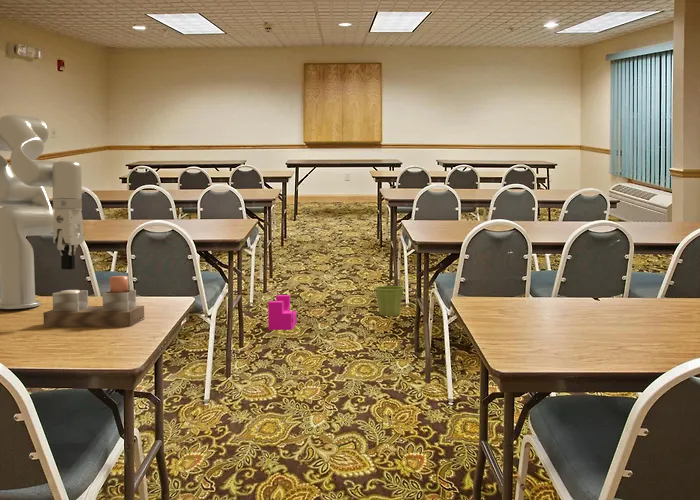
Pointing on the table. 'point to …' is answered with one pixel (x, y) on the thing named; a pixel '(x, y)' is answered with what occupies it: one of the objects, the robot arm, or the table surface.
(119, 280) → the plunger salmon pink
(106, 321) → the button box
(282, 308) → the toy block
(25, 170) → the robot arm
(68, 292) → the plunger white
